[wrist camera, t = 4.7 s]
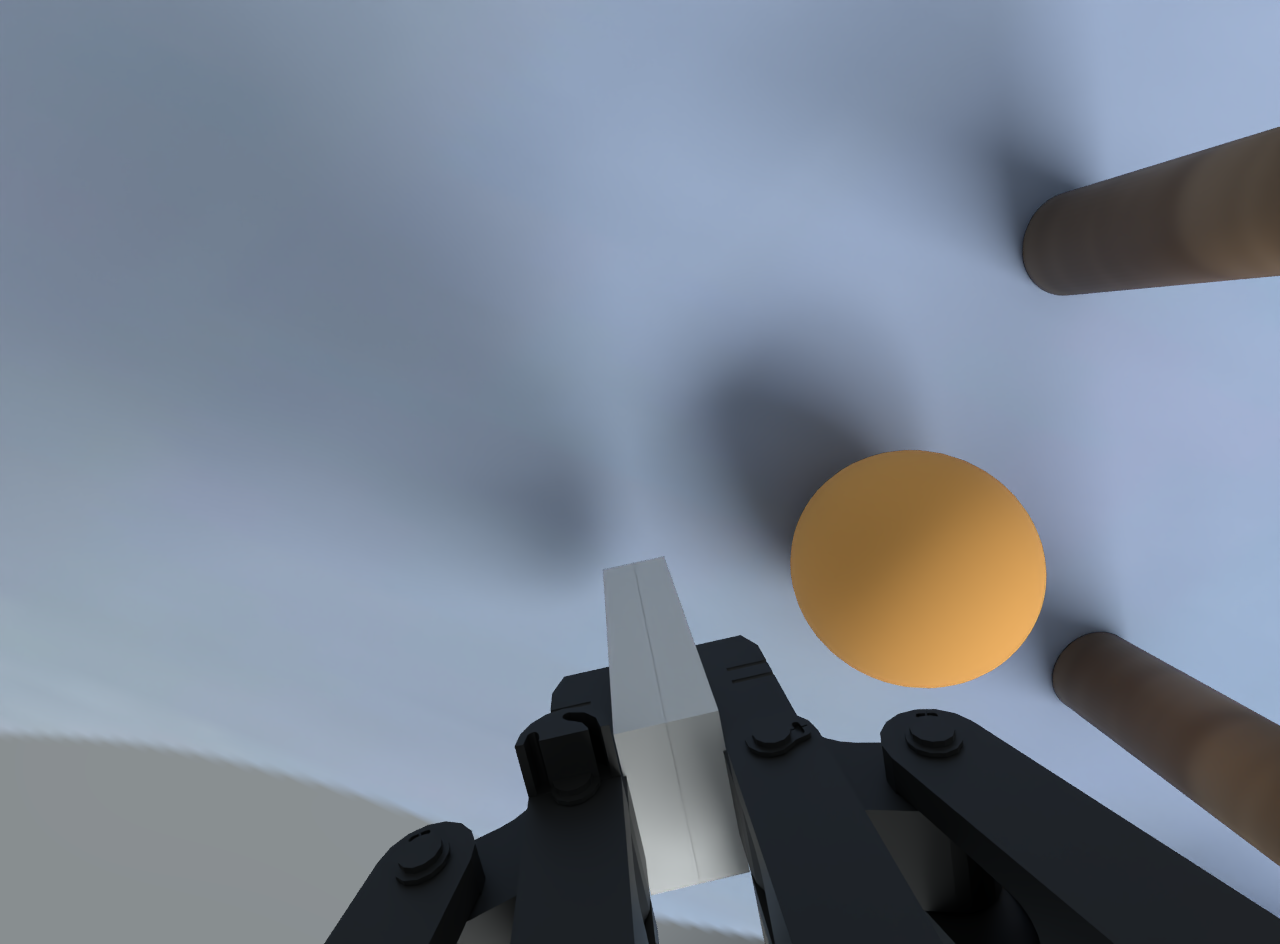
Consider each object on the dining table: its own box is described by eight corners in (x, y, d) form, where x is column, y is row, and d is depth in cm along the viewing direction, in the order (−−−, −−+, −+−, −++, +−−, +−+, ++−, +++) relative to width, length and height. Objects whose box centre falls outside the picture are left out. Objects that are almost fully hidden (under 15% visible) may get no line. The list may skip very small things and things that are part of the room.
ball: (1112, 699, 14) (941, 603, 19) (1112, 447, 12) (929, 420, 18) (880, 770, 13) (768, 648, 18) (856, 504, 11) (744, 457, 17)
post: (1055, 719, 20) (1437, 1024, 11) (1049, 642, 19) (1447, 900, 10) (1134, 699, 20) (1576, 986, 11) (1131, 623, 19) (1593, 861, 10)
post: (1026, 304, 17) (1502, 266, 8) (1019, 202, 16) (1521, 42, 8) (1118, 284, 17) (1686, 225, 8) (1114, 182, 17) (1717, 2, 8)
